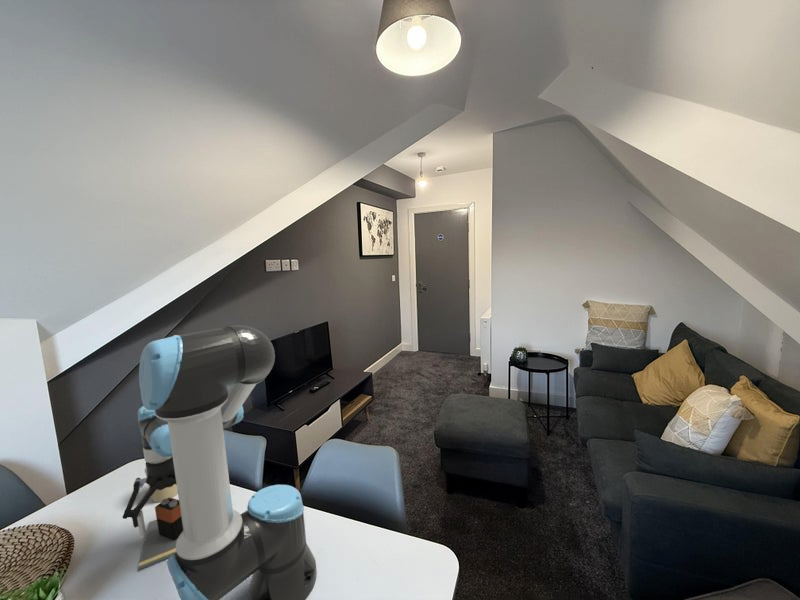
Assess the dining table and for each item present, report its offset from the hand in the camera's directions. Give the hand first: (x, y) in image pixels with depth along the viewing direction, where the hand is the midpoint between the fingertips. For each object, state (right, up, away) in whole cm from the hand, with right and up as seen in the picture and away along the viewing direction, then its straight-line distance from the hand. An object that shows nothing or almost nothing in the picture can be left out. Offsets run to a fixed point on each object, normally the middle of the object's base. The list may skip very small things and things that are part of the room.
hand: (172, 523), depth 94 cm
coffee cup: (-14, -2, +17) cm, 23 cm away
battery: (0, -3, 0) cm, 3 cm away
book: (0, -3, 0) cm, 3 cm away
